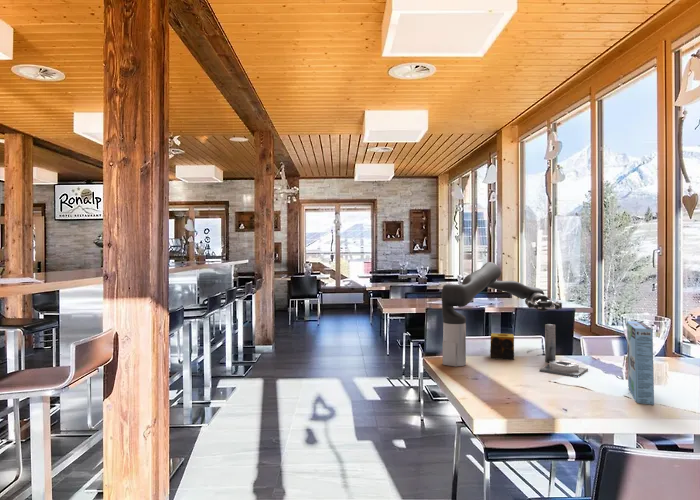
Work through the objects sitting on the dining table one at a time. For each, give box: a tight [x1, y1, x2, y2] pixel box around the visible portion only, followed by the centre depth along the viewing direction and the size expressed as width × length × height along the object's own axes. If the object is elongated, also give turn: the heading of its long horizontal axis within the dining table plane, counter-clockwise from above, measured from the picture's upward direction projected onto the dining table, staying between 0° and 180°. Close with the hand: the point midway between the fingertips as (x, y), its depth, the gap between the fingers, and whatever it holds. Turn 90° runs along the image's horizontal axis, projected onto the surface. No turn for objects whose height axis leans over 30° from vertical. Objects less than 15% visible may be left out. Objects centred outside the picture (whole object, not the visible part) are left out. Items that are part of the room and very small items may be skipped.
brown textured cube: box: [489, 332, 515, 361], centre depth 211 cm, size 10×10×10 cm
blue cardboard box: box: [626, 320, 655, 406], centre depth 152 cm, size 20×5×23 cm, turn 156°
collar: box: [538, 360, 589, 378], centre depth 185 cm, size 14×14×3 cm
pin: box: [544, 323, 556, 364], centre depth 200 cm, size 4×4×16 cm
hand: (547, 307), depth 209 cm, fingers open, 8 cm apart
